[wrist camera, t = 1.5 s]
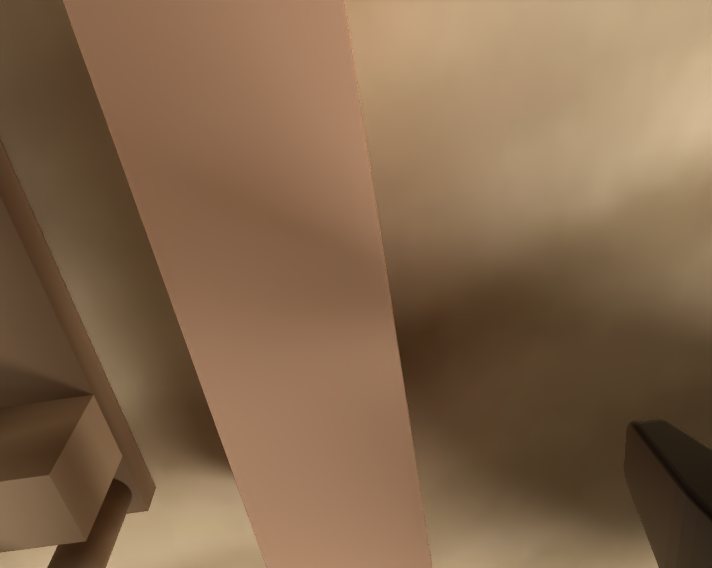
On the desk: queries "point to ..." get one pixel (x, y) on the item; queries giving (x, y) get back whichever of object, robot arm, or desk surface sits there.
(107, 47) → the clay bar
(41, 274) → the rack
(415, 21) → the desk surface
